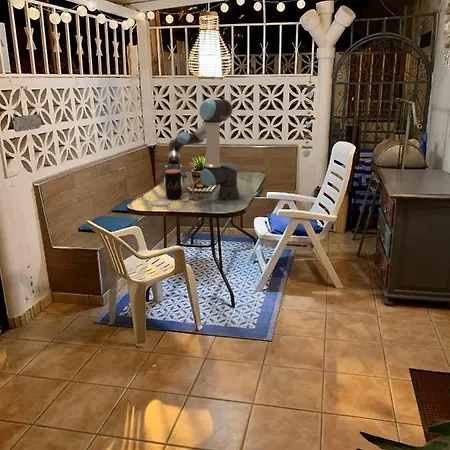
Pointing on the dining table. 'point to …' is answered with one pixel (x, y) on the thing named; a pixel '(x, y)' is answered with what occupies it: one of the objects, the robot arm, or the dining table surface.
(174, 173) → the coffee jar
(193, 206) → the dining table surface
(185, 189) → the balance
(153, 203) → the dish
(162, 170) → the robot arm
